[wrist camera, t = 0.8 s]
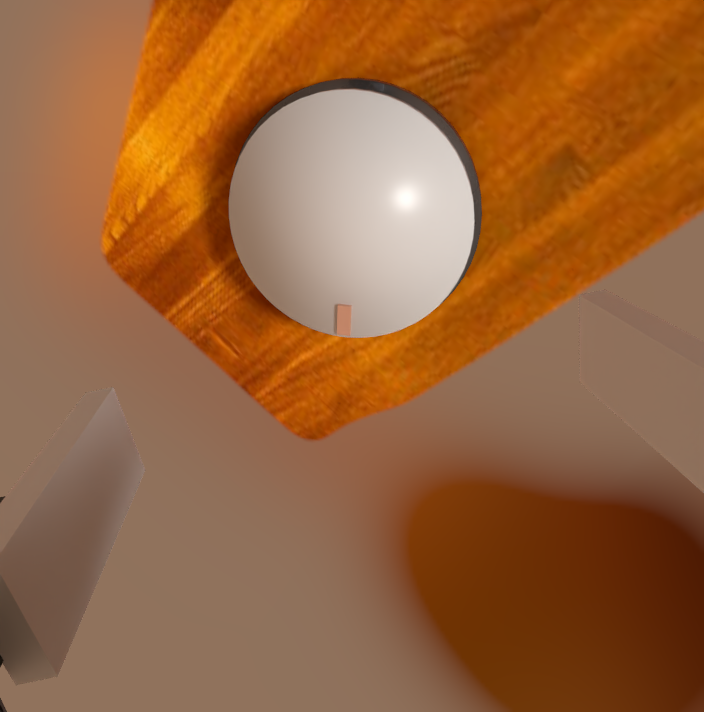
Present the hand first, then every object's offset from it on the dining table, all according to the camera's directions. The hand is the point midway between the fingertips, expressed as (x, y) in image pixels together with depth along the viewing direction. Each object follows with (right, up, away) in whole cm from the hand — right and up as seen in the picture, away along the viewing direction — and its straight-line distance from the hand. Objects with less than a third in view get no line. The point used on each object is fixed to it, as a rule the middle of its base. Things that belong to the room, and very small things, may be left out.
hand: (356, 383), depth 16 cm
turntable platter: (0, +10, +24) cm, 26 cm away
